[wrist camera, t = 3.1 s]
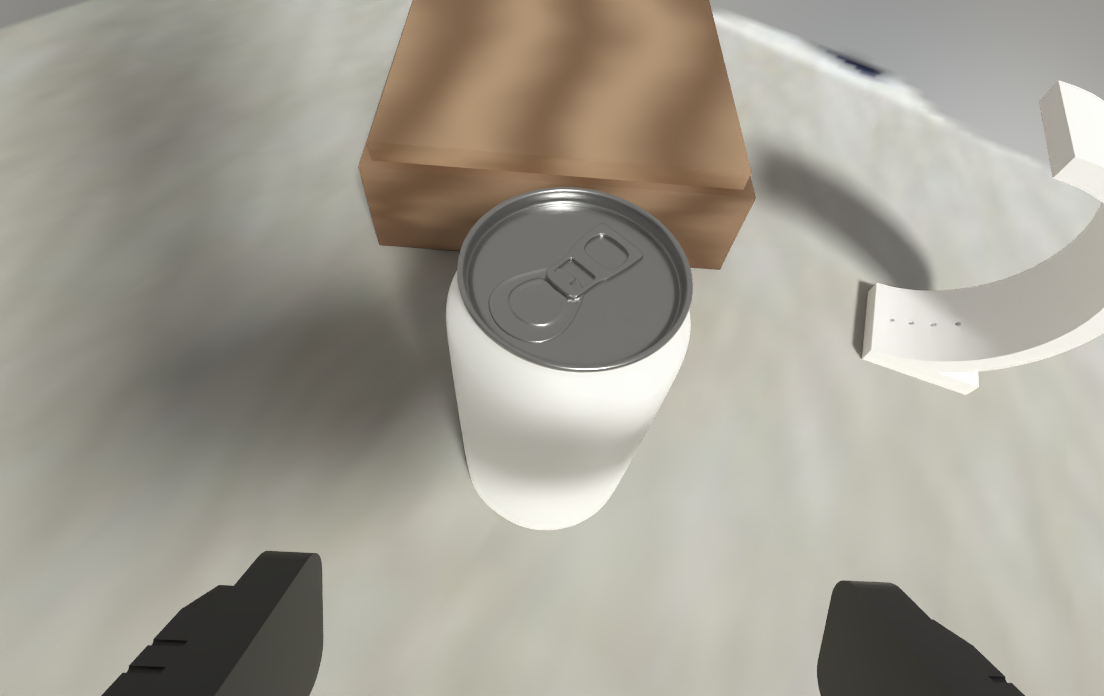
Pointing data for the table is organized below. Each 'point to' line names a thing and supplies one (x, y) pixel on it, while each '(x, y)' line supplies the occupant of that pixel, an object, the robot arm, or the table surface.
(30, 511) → the table surface
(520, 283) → the can
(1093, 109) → the white curved piece
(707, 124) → the podium
